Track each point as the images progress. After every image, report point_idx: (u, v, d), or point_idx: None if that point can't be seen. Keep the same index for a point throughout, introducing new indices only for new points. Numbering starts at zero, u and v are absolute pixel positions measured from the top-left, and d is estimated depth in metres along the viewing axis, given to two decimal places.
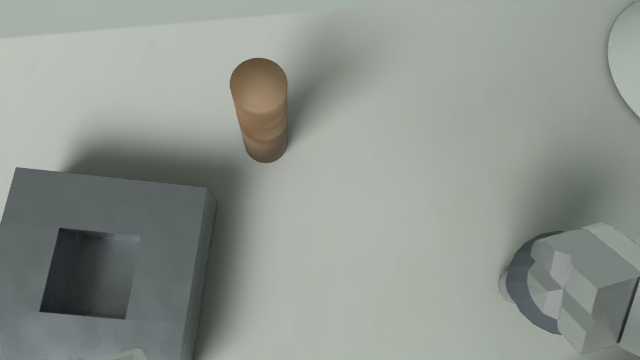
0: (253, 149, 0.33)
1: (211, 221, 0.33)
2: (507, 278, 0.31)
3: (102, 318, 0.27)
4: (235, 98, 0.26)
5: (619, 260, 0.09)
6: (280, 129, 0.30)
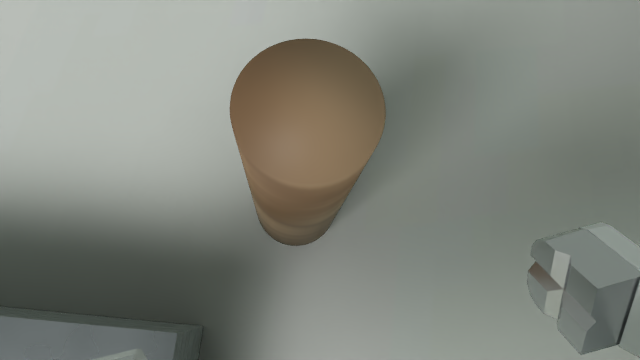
0: (276, 231, 0.16)
1: None
2: None
3: None
4: (245, 149, 0.09)
5: (619, 260, 0.09)
6: (341, 203, 0.13)
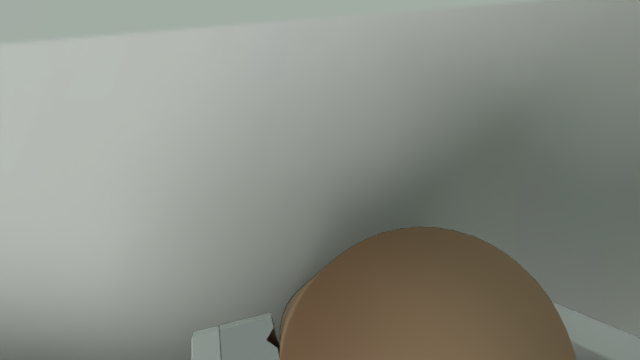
0: None
1: None
2: None
3: None
4: None
5: None
6: None
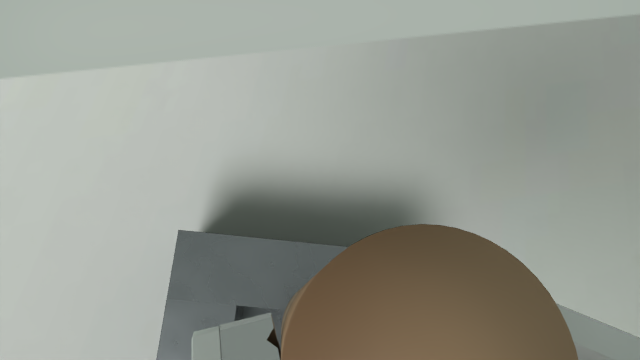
0: None
1: None
2: None
3: None
4: None
5: None
6: None
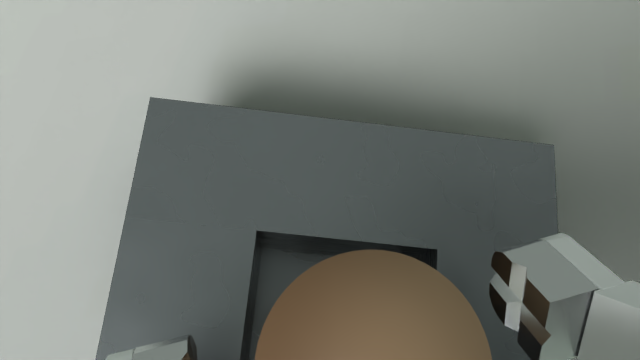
0: None
1: None
2: None
3: None
4: None
5: (575, 272, 0.09)
6: None
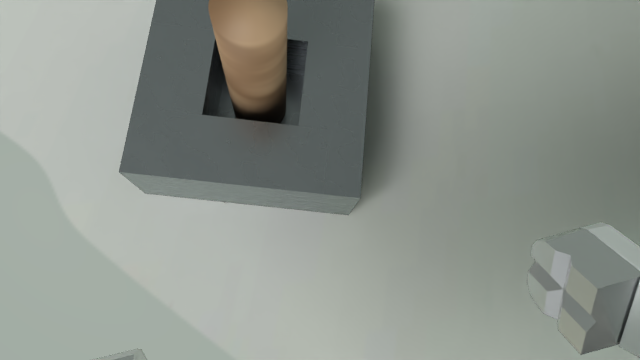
0: (243, 111, 0.26)
1: None
2: None
3: (272, 124, 0.24)
4: (215, 25, 0.19)
5: (619, 260, 0.09)
6: (278, 80, 0.23)
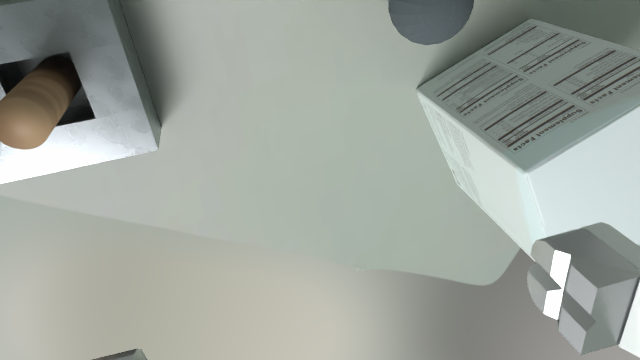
0: None
1: (118, 6, 0.34)
2: None
3: (77, 122, 0.34)
4: (7, 144, 0.28)
5: (618, 260, 0.09)
6: (65, 110, 0.32)
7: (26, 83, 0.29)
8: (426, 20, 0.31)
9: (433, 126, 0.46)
